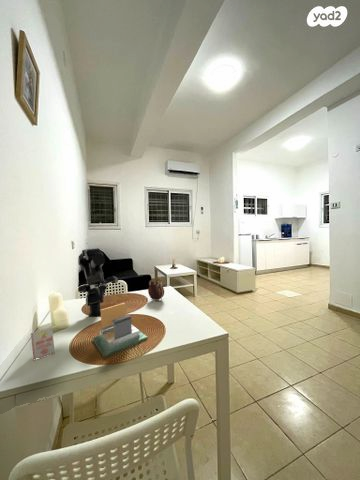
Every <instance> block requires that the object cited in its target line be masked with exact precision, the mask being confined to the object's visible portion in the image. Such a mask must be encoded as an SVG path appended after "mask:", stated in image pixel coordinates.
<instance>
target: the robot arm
mask: <svg viewBox="0 0 360 480" xmlns="http://www.w3.org/2000/svg"><path fill="white" fill-rule="evenodd" d="M77 262H78V263H77V264H78V266H79V267H80V268H79V269H81V271H84V272H83V273H84V276H85V280H86V283H85V284H82V285H79V286H78V288H77V290H78V291H77V292H78V293H86V295H85V305H86V306H87V307H89V313H88V318H89V317H94V316H101V311H100V310H101V303H104V298H105V293H106V290H107V288H108V287H109V285H108V284H110V283H111V284H116V283H118V282H119V278H118V277H117V276H114V275H112V276H109V277H107V278H106V280H105V279H104V272H103V268H102V267H103V265H104V263H105V262H106V258H105V254H104V253H103V252H102V250H101V249H100V248H98V247H97V248H86V249H82V250H81V253H80V254H79V255H78V259H77Z"/></svg>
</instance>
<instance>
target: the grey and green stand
mask: <svg viewBox="0 0 360 480" xmlns="http://www.w3.org/2000/svg"><path fill="white" fill-rule="evenodd" d="M112 323H113V324H114V327H111V328H108V329H105V330H102V329H101V330H99V335H97V336H94V337H92V342H93V343H94V344H95V346H96V347H97V349H98V351H99V352H100V354H101V355H102V357H104V359H106V358H108V357H110V356H112V355H115V354H117V353H119V352H121V351H124V350H126V349H128V348H130V347H133V346H134V345H137V344H139V343H142V342H144V341H146V340H148V336H147V335H146V334H144V333H143V332H142V331H140V329H138V328H137V327H135V326H134V325H133V324H132V316H131V315H129V314H126V316H123V317H120V318H117V319H114V320H112Z"/></svg>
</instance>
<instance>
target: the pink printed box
mask: <svg viewBox="0 0 360 480" xmlns="http://www.w3.org/2000/svg"><path fill="white" fill-rule="evenodd" d="M30 336H31V348H32V349H31V350H32V359H33V361H34V359H36V358H40V359H42V358H41V357H43V358H45V357H44V356H46V357H48V356H47V355H49V356H51V355H50V354H52V355H54V354H55V342H54V332H53V326H52V327H51V326H50V327H47V328H44V329H41V330H37V331H33V332H31V333H30ZM53 353H54V354H53Z"/></svg>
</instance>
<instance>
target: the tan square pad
mask: <svg viewBox="0 0 360 480" xmlns="http://www.w3.org/2000/svg"><path fill="white" fill-rule="evenodd" d="M126 306H127V305H126V302H122V303H118V304H115V305H111V306H108V307H105V308H102V309H101V308H100V309H101V310H100V311H101V315H100V321H101V322H100V323H101V330H105V329H108V328H111V327H114V324H113V323H112V320H114V319H117V318H120V317H123V316H126V315H127V307H126Z"/></svg>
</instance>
